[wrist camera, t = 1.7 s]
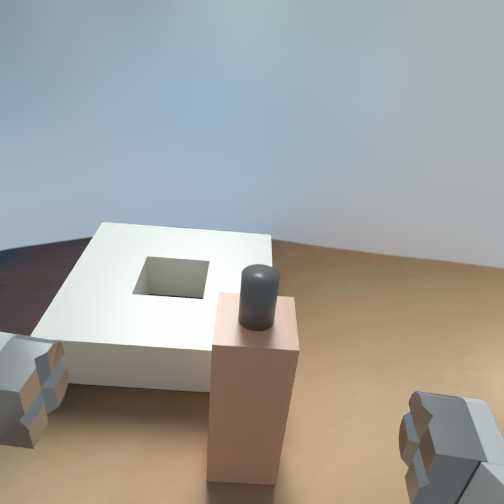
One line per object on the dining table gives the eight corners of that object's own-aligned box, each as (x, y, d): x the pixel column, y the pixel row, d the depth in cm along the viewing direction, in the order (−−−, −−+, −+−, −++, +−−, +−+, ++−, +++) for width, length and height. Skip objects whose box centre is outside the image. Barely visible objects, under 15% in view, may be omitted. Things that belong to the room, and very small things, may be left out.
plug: (273, 426, 33) (300, 255, 26) (275, 485, 30) (307, 304, 22) (212, 422, 33) (220, 249, 25) (206, 481, 29) (213, 298, 22)
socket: (266, 269, 51) (270, 234, 49) (269, 396, 36) (275, 354, 33) (106, 257, 51) (102, 222, 48) (39, 381, 35) (28, 338, 33)
